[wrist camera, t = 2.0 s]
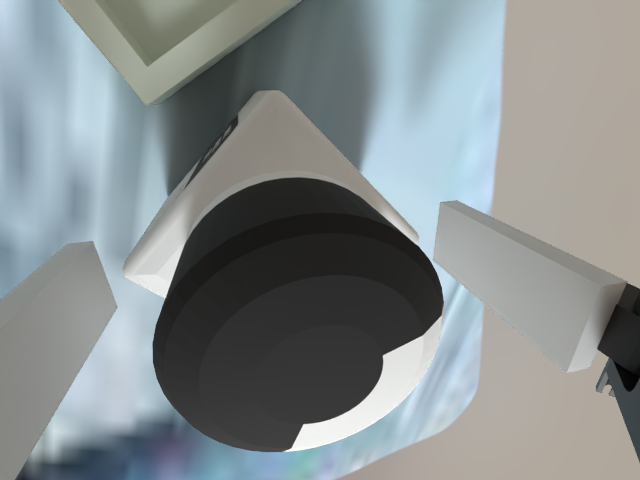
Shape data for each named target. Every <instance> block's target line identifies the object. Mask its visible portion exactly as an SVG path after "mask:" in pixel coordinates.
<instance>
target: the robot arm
mask: <svg viewBox="0 0 640 480" xmlns="http://www.w3.org/2000/svg"><path fill="white" fill-rule="evenodd" d="M433 261H434V262H435V263H437V264H438V265H439V266H440V267H441V268H443V269H444V270H445V271H446V272H447V273H448V274H450V275H451V276H452V277H453V278H454V279H456V280H457V281H458V282H459V283H460V284H461V285H463V286H464V287H465V288H466V289H467V290H469V291H470V292H471V293H472V294H473V295H475V296H476V297H477V298H478V299H479V300H480V301H482V302H483V303H484V304H485V305H486V306H488V307H489V308H490V309H491V310H492V311H493V312H495V313H496V314H497V315H498V316H499V317H501V318H502V319H503V320H504V321H505V322H506V323H508V324H509V325H510V326H511V327H512V328H514V329H515V330H516V331H517V332H518V333H519V334H521V335H522V336H523V337H524V338H525V339H527V340H528V341H529V342H530V343H531V344H533V345H534V346H535V347H536V348H537V349H538V350H540V351H541V352H542V353H543V354H544V355H546V356H547V357H548V358H549V359H550V360H551V361H553V362H554V363H555V364H556V365H558V366H559V367H560V368H561V369H562V370H563V371H565V372H566V373H569V372H574V371H578V370H582V369H586V368H590V366H591V363H592V361H593V359H594V357H595V354H596V352H597V350H599V351H601V352H602V353H604V354H605V355H606V356H608V357H609V359H608V361H607V364H606V366H605V368H604V370H603V372H602V374H601V377H600V379H599V381H598V383H597V385H596V392H600V393H602V390H603V389H604V386H605V385H608V384H609V385H611V386H612V389H611V391H610V393H609V395H610V396H613V397H616V400H617V402H618V405H619V408H620V410H621V413H622V416H623V418H624V421H625V424H626V427H627V429H628V432H629V435H630V437H631V440H632V442H633V445H634V448H635V451H636V454H637V456H638V459H639V461H640V289H639V288H637V287H635V286H632V285H630V284H628V283H627V281H625V280H623V279H621V278H619V277H617V276H615V275H613V274H611V273H609V272H606V271H604V270H602V269H600V268H598V267H596V266H594V265H592V264H590V263H587V262H585V261H583V260H581V259H579V258H577V257H575V256H573V255H571V254H569V253H566V252H564V251H562V250H560V249H558V248H556V247H554V246H552V245H550V244H547V243H545V242H543V241H541V240H539V239H537V238H535V237H532V236H531V235H528V234H526V233H524V232H522V231H520V230H518V229H516V228H514V227H512V226H509V225H507V224H505V223H503V222H501V221H499V220H497V219H495V218H493V217H491V216H488V215H486V214H484V213H482V212H480V211H478V210H476V209H474V208H472V207H469V206H467V205H465V204H463V203H461V202H459V201H457V200H456V201H447V202H440V208H439V216H438V224H437V231H436V239H435V247H434V254H433ZM116 309H117V304H116V302H115V299H114V296H113V294H112V291H111V288H110V286H109V283H108V280H107V277H106V275H105V272H104V269H103V267H102V264H101V261H100V259H99V256H98V253H97V250H96V248H95V245H94V242H93V241H89V242H80V243H71V244H67V245H66V246H65V247H63V248H62V249H61V250H60V251H59V252H57V253H56V254H55V255H54V256H53V257H51V258H50V259H49V260H48V261H47V262H45V263H44V264H43V265H42V266H41V267H39V268H38V269H37V270H36V271H35V272H33V273H32V274H31V275H30V276H29V277H27V278H26V279H25V280H24V281H23V282H21V283H20V284H19V285H18V286H17V287H15V288H14V289H13V290H12V291H11V292H9V293H8V294H7V295H6V296H5V297H3V298H2V299H1V300H0V480H15V479H16V477H17V475H18V474H19V472H20V470H21V469H22V467H23V465H24V464H25V462H26V460H27V459H28V457H29V455H30V454H31V452H32V450H33V448H34V447H35V445H36V443H37V442H38V440H39V438H40V437H41V435H42V433H43V432H44V430H45V428H46V427H47V425H48V423H49V422H50V420H51V418H52V417H53V415H54V413H55V411H56V410H57V408H58V406H59V405H60V403H61V401H62V400H63V398H64V396H65V395H66V393H67V391H68V390H69V388H70V386H71V385H72V383H73V381H74V380H75V378H76V376H77V374H78V373H79V371H80V369H81V368H82V366H83V364H84V363H85V361H86V359H87V358H88V356H89V354H90V353H91V351H92V349H93V348H94V346H95V344H96V343H97V341H98V339H99V338H100V336H101V334H102V332H103V331H104V329H105V327H106V326H107V324H108V322H109V321H110V319H111V317H112V316H113V314H114V312H115V311H116Z"/></svg>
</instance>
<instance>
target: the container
mask: <svg viewBox="0 0 640 480" xmlns="http://www.w3.org/2000/svg"><path fill="white" fill-rule="evenodd" d="M418 242H419V236H418V234H417V232H416V231H415V230H414V228H413V227H412V226H411V225H410V224H409V223H408V222H407V221H406V220H405V219H404V218H403V217H402V216H401V215H400V214H399V213H398V212H397V211H396V210H395V209H394V208H393V207H392V205H391V204H390V203H389V202H388V201H387V200H386V199H385V198H384V197H383V196H382V195H381V194H380V193H379V192H378V191H377V190H376V189H375V188H374V187H373V186H372V185H371V184H370V182H369V181H368V180H367V179H366V178H365V177H364V176H363V175H362V174H361V173H360V172H359V171H358V170H357V169H356V168H355V167H354V166H353V165H352V164H351V163H350V162H349V161H348V159H347V158H346V157H345V156H344V155H343V154H342V153H341V152H340V151H339V150H338V149H337V148H336V147H335V146H334V145H333V144H332V143H331V142H330V141H329V140H328V139H327V138H326V136H325V135H324V134H323V133H322V132H321V131H320V130H319V129H318V128H317V127H316V126H315V125H314V124H313V123H312V122H311V121H310V120H309V119H308V118H307V117H306V116H305V115H304V113H303V112H302V111H301V110H300V109H299V108H298V107H297V106H296V105H295V104H294V103H293V102H292V101H291V100H290V99H289V98H288V97H287V96H286V95H285V94H284V93H282V92H281V91H279V90H268V91H257V92H256V93H254V94H253V96H252V97H251V98H250V99H249V100H248V102H247V103H246V104H245V105H244V106H243V108H242V109H241V110H240V111H239V112H238V114H237V115H236V116H235V117H234V118H233V120H232V121H231V122H230V123H229V124H228V126H227V127H226V128H225V129H224V130H223V132H222V133H221V134H220V135H219V136H218V138H217V139H216V140H215V141H214V143H213V144H212V145H211V146H210V147H209V149H208V150H207V151H206V152H205V153H204V155H203V156H202V157H201V158H200V159H199V161H198V162H197V163H196V164H195V165H194V167H193V168H192V169H191V170H190V171H189V173H188V174H187V175H186V176H185V177H184V179H183V180H182V181H181V182H180V183H179V185H178V186H177V187H176V188H175V189H174V191H173V192H172V193H171V194H170V195H169V197H168V198H167V199H166V201H165V202H164V204H163V205H162V207H161V208H160V210H159V211H158V213H157V214H156V216H155V217H154V219H153V220H152V222H151V223H150V225H149V226H148V228H147V229H146V231H145V232H144V234H143V235H142V237H141V238H140V240H139V241H138V243H137V244H136V246H135V247H134V249H133V251H132V252H131V254H130V255H129V257H128V258H127V260H126V261H125V263H124V266H123V273H124V276H126V277H127V278H128V279H129V280H131V281H133V282H135V283H137V284H139V285H141V286H142V287H144V288H146V289H148V290H150V291H152V292H154V293H156V294H158V295H159V296H161V297H163V298H165V301H164V304H163V307H162V310H161V313H160V315H159V318H158V321H157V324H156V328H155V334H154V340H153V364H154V368H155V372H156V377H157V380H158V382H159V384H160V386H161V389H162V391H163V393H164V395H165V396H166V397H167V399H168V400H169V402H170V403H171V404H172V406H173V407H174V408H175V409H176V410H177V411H178V412H179V413H180V414H181V415H182V416H183V417H184V418H185V419H186V420H187V421H188V422H189V423H190V424H191V425H192V426H193V427H194V428H196V429H197V430H199V431H200V432H202V433H203V434H204V435H206V436H208V437H210V438H212V439H214V440H216V441H218V442H220V443H223V444H226V445H229V446H232V447H236V448H241V449H245V450H250V451H261V452H287V451H298V450H304V449H309V448H314V447H318V446H322V445H325V444H329V443H332V442H335V441H338V440H340V439H343V438H346V437H348V436H350V435H352V434H354V433H357V432H359V431H361V430H363V429H364V428H366V427H368V426H370V425H371V424H373V423H375V422H376V421H378V420H379V419H381V418H382V417H384V416H385V415H386V414H388V413H389V412H390V411H391V410H393V409H394V408H395V407H396V406H397V405H399V404H400V403H401V402H402V401H403V400H404V399H405V398H406V397H407V396H408V395H409V394H410V393H411V392H412V390H413V389H414V388H415V387H416V386H417V384H418V383H419V382H420V380H421V379H422V377H423V376H424V374H425V373H426V371H427V370H428V368H429V366H430V364H431V362H432V360H433V358H434V356H435V353H436V350H437V347H438V344H439V340H440V335H441V329H442V323H443V310H444V301H443V294H442V287H441V284H440V281H439V278H438V275H437V273H436V271H435V269H434V267H433V265H432V263H431V262H430V260H429V258H428V257H427V256H426V255H425V254H424V252H423V251H422V250H421V249H420V248H419V246H417V244H418Z"/></svg>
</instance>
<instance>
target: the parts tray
mask: <svg viewBox="0 0 640 480" xmlns="http://www.w3.org/2000/svg"><path fill="white" fill-rule="evenodd" d="M301 1H303V0H58V2H59V3H60V4H61V5H62V6H63V7H64V9H65V10H66V11H67V12H68V13H69V15H70V16H71V17H72V18H73V19H74V20H75V22H76V23H77V24H78V25H79V26H80V28H81V29H82V30H83V31H84V32H85V34H86V35H87V36H88V37H89V38H90V39H91V41H92V42H93V43H94V44H95V45H96V47H97V48H98V49H99V50H100V51H101V53H102V54H103V55H104V56H105V57H106V58H107V60H108V61H109V62H110V63H111V64H112V66H113V67H114V68H115V69H116V70H117V72H118V73H119V74H120V75H121V76H122V77H123V79H124V80H125V81H126V82H127V83H128V85H129V86H130V87H131V88H132V89H133V91H134V92H135V93H136V94H137V95H138V96H139V98H140V99H141V100H142V101H143V102H144V104H145V105H146V106H149V105H155V104H160V103H162V102H163V101H165V100H166V99H167V98H169V97H170V96H171V95H173V94H174V93H176V92H177V91H178V90H180V89H181V88H183V87H184V86H185V85H187V84H188V83H189V82H191V81H192V80H194V79H195V78H196V77H198V76H199V75H201V74H202V73H203V72H205V71H206V70H207V69H209V68H210V67H212V66H213V65H214V64H216V63H217V62H218V61H220V60H221V59H223V58H224V57H225V56H227V55H228V54H230V53H231V52H232V51H234V50H235V49H236V48H238V47H239V46H241V45H242V44H243V43H245V42H246V41H247V40H249V39H250V38H252V37H253V36H254V35H256V34H257V33H259V32H260V31H261V30H263V29H264V28H265V27H267V26H268V25H270V24H271V23H272V22H274V21H275V20H276V19H278V18H279V17H281V16H282V15H283V14H285V13H286V12H288V11H289V10H290V9H292V8H293V7H294V6H296V5H297V4H299V3H300V2H301Z"/></svg>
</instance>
